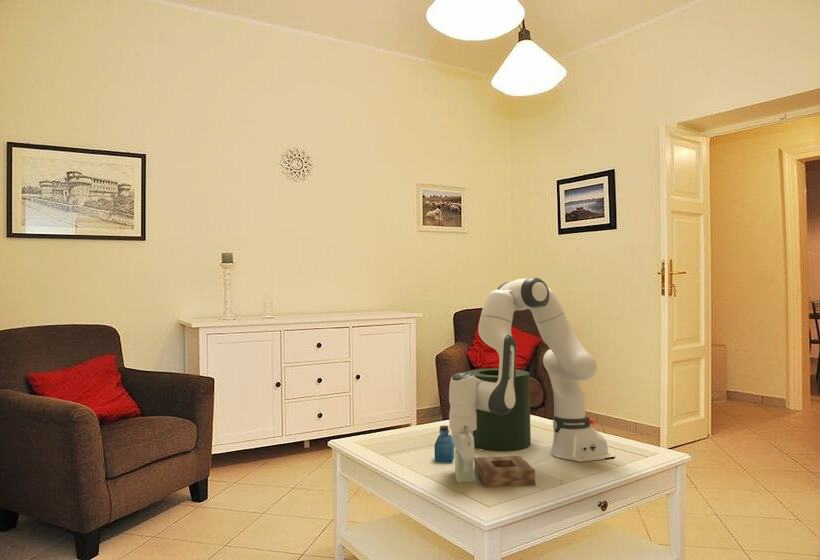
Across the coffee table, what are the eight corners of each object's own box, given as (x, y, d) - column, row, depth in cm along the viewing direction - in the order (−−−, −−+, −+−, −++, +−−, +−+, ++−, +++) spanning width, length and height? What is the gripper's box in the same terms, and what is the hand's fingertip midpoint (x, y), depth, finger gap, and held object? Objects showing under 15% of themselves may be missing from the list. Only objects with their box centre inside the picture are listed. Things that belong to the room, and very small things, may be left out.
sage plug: (470, 476, 186) (469, 449, 187) (473, 481, 181) (473, 453, 182) (455, 477, 186) (454, 449, 186) (457, 482, 181) (457, 453, 181)
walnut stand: (520, 468, 194) (520, 455, 194) (535, 484, 178) (535, 470, 178) (474, 470, 192) (474, 457, 192) (485, 487, 176) (484, 472, 176)
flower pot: (543, 442, 227) (541, 372, 228) (505, 455, 210) (504, 379, 210) (492, 431, 245) (491, 366, 246) (454, 443, 228) (453, 373, 228)
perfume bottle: (451, 462, 202) (451, 428, 202) (434, 462, 203) (434, 428, 203) (454, 457, 208) (453, 424, 208) (437, 457, 209) (436, 424, 209)
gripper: (479, 430, 174) (479, 476, 174) (466, 416, 194) (467, 457, 194) (459, 431, 173) (459, 477, 173) (448, 417, 194) (448, 457, 194)
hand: (463, 466), depth 184 cm, fingers open, 8 cm apart
